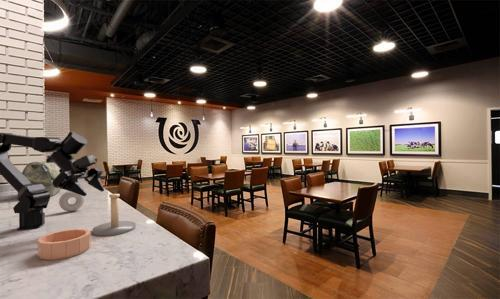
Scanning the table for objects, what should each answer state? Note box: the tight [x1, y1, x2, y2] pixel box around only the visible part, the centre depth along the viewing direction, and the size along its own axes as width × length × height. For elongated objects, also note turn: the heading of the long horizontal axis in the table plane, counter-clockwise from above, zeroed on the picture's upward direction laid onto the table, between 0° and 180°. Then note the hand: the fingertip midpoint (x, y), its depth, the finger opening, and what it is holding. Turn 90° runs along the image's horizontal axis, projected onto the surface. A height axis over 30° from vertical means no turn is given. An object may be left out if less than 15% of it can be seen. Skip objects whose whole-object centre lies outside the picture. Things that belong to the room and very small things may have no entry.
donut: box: [58, 190, 85, 212], centre depth 119 cm, size 10×4×10 cm, turn 134°
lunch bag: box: [21, 160, 61, 197], centre depth 160 cm, size 26×18×22 cm
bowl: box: [37, 228, 92, 261], centre depth 73 cm, size 12×12×4 cm
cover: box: [91, 193, 137, 237], centre depth 92 cm, size 14×14×13 cm
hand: (94, 192), depth 93 cm, fingers open, 9 cm apart
